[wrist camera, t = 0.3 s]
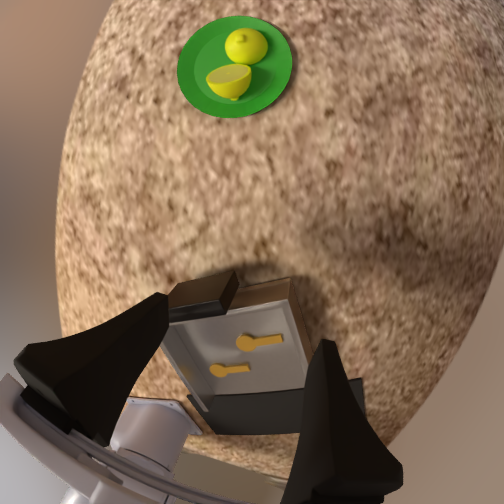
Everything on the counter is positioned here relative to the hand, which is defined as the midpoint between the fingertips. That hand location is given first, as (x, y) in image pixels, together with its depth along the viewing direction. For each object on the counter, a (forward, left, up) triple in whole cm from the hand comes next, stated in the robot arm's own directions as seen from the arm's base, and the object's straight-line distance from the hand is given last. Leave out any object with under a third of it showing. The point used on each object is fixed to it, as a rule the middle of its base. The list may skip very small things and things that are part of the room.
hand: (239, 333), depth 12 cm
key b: (-3, -7, -9) cm, 12 cm away
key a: (-7, -10, -9) cm, 15 cm away
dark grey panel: (-5, -20, -10) cm, 22 cm away
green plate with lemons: (+2, +14, -10) cm, 17 cm away
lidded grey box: (-5, -7, -9) cm, 13 cm away
